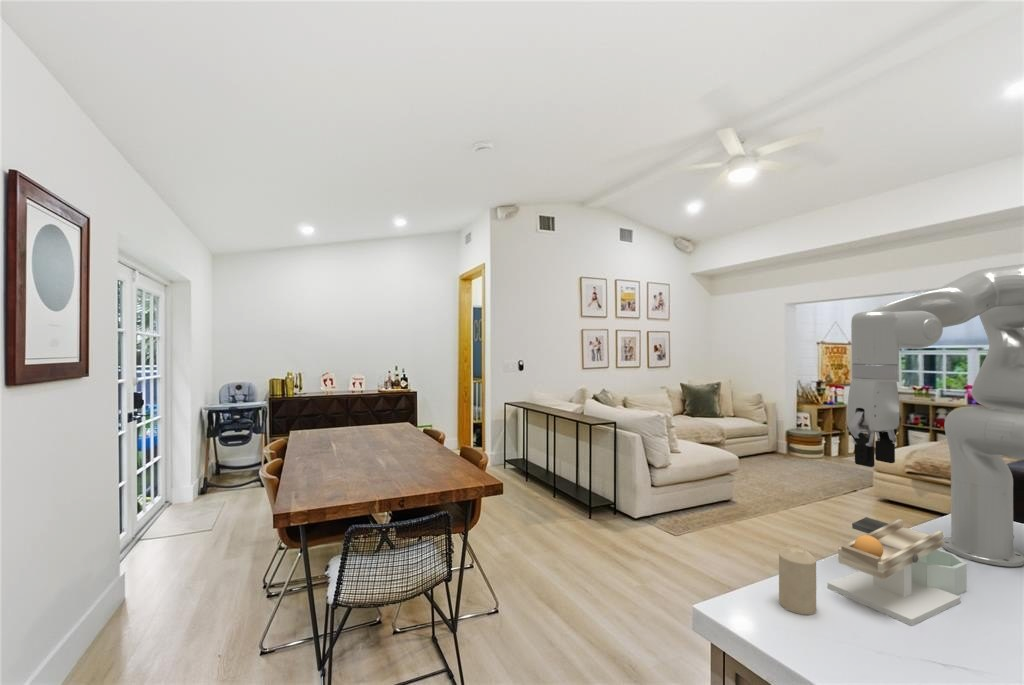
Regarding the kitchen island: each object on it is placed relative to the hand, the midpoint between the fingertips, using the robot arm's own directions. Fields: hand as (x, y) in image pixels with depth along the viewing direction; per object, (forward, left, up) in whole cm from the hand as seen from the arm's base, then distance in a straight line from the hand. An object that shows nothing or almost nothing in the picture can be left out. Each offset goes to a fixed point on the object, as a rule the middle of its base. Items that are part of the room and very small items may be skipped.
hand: (874, 462), depth 93 cm
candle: (+26, +1, -22) cm, 34 cm away
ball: (+14, +6, -12) cm, 19 cm away
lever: (+7, +3, -14) cm, 16 cm away
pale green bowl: (-5, +6, -22) cm, 23 cm away
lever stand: (+7, +6, -22) cm, 24 cm away
